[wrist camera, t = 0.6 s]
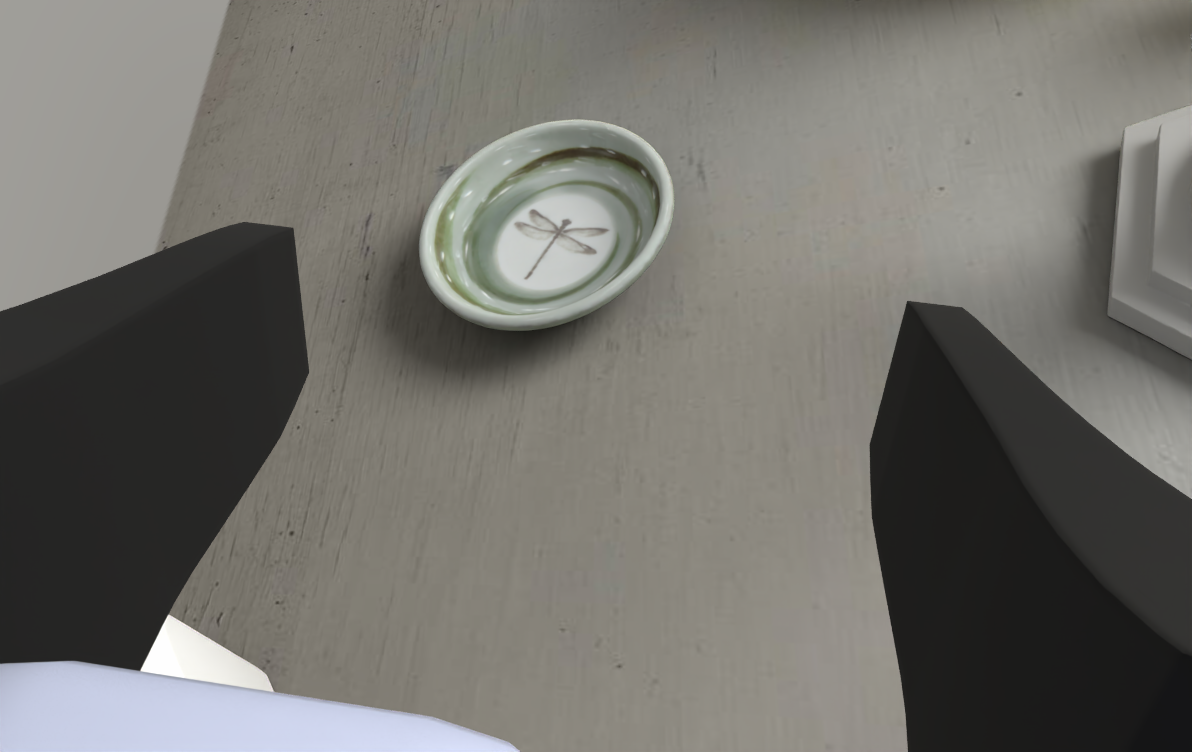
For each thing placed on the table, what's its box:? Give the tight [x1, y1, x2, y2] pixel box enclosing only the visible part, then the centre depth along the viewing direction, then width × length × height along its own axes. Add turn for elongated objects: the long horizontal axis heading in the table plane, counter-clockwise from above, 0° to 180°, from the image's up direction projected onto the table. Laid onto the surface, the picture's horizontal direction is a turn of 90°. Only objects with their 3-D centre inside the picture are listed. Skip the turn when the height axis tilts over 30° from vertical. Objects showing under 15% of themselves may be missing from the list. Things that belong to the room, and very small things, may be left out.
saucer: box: [419, 120, 674, 331], centre depth 39 cm, size 10×10×2 cm
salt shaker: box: [140, 614, 274, 692], centre depth 28 cm, size 4×4×10 cm
